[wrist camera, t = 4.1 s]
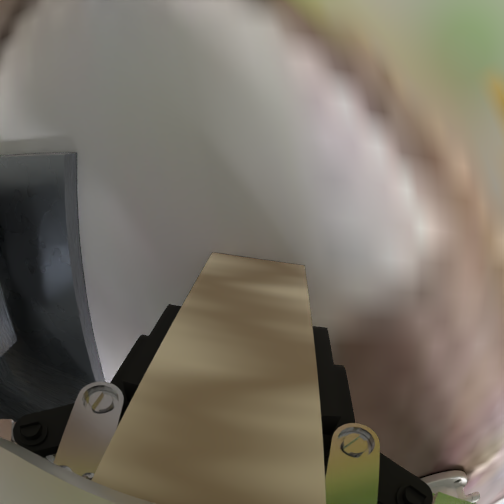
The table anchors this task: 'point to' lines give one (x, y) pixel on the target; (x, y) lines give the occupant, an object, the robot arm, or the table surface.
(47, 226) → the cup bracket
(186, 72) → the table surface
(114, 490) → the robot arm
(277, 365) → the wooden block
